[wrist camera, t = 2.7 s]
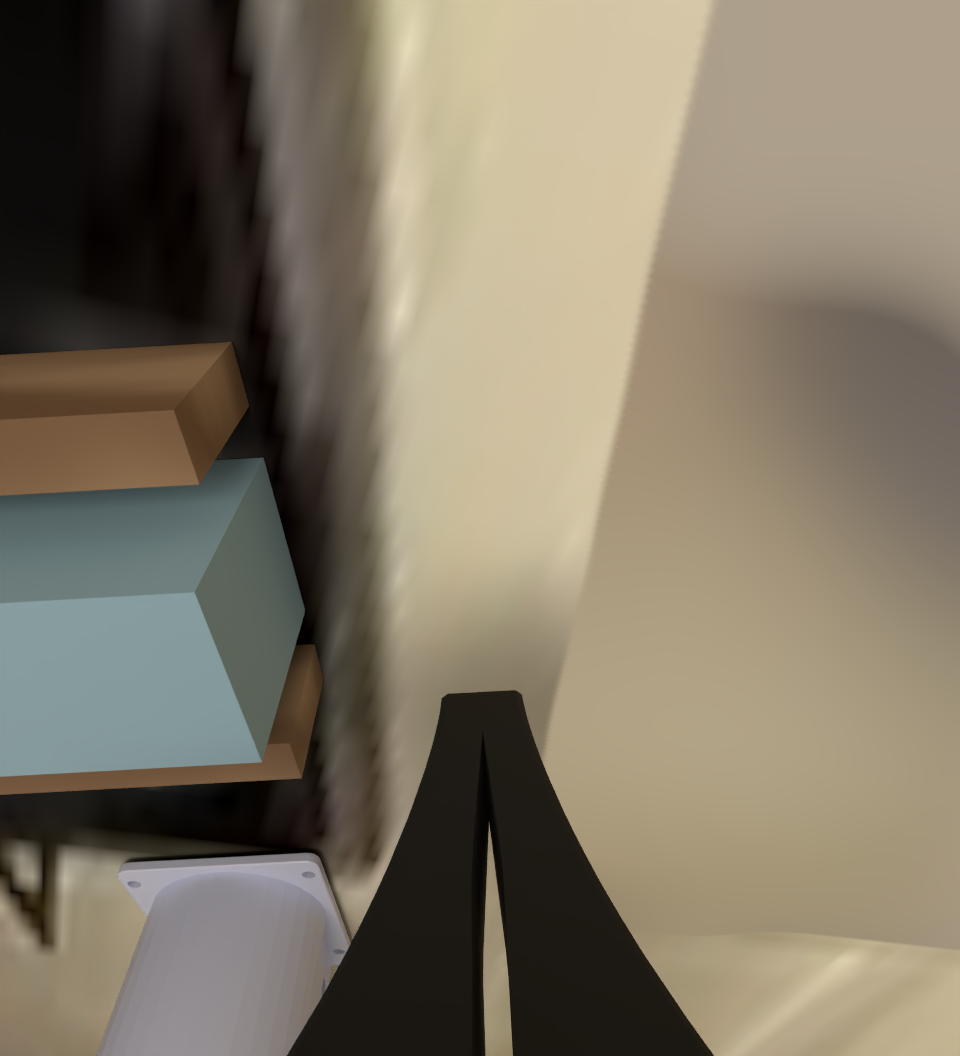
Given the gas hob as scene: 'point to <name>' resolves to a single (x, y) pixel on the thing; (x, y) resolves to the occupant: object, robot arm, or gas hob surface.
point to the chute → (137, 462)
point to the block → (144, 624)
